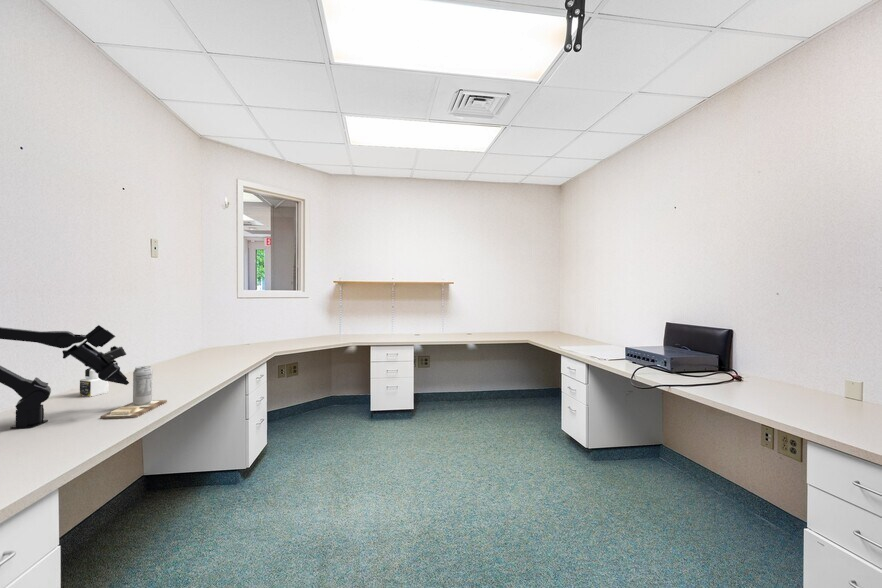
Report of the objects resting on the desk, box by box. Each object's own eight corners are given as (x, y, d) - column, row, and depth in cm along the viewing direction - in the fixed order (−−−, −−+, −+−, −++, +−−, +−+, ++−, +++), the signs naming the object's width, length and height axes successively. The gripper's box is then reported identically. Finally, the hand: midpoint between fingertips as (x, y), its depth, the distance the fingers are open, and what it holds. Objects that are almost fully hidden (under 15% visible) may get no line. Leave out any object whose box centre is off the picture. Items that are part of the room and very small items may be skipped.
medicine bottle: (79, 395, 162) (79, 368, 162) (98, 391, 169) (98, 365, 169) (90, 397, 160) (90, 370, 160) (108, 392, 167) (109, 366, 167)
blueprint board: (135, 418, 135) (135, 411, 135) (99, 419, 133) (99, 413, 133) (167, 402, 154) (167, 396, 154) (135, 403, 152) (135, 397, 152)
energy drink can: (151, 400, 152) (152, 365, 152) (152, 404, 147) (152, 367, 147) (133, 403, 148) (133, 366, 148) (132, 407, 144) (133, 369, 144)
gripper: (111, 343, 134) (149, 369, 142) (109, 338, 147) (143, 362, 155) (81, 366, 129) (121, 392, 136) (81, 359, 142) (117, 383, 149)
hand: (127, 381), depth 144 cm, fingers open, 9 cm apart
